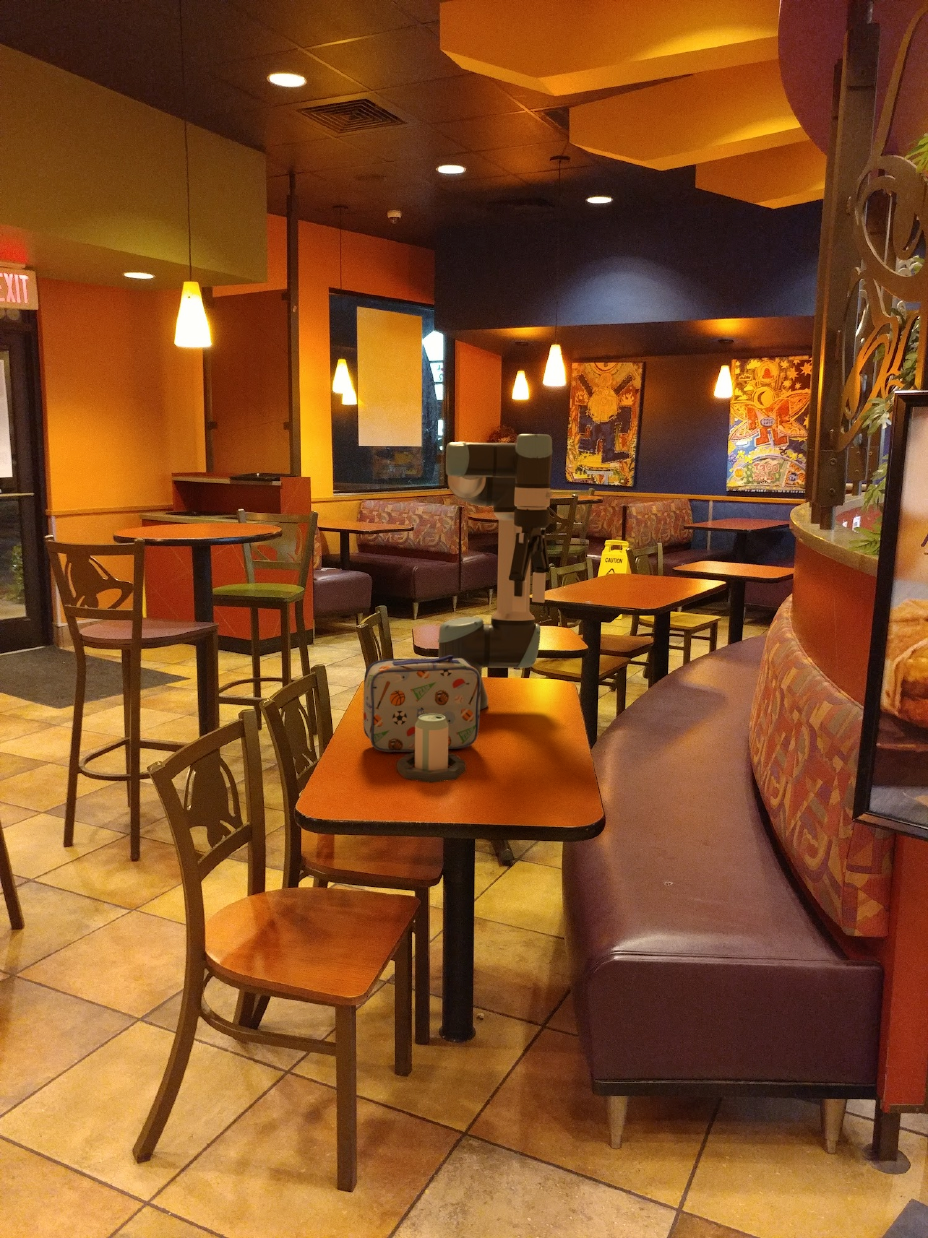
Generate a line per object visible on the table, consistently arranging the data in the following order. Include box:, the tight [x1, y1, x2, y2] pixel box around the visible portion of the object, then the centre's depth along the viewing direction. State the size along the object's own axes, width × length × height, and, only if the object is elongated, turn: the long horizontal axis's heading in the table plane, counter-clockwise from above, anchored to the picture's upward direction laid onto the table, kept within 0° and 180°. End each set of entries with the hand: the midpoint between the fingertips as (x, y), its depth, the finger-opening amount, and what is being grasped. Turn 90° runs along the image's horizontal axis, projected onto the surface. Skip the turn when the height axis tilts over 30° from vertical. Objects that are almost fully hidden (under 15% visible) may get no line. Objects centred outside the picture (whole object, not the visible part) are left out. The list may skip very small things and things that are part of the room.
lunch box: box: [362, 655, 481, 753], centre depth 220 cm, size 28×10×22 cm, turn 105°
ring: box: [396, 752, 466, 784], centre depth 206 cm, size 14×14×2 cm
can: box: [414, 714, 449, 770], centre depth 205 cm, size 7×7×12 cm
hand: (528, 606), depth 208 cm, fingers open, 13 cm apart
